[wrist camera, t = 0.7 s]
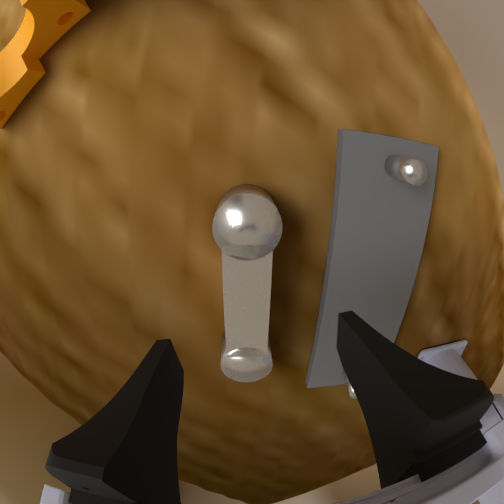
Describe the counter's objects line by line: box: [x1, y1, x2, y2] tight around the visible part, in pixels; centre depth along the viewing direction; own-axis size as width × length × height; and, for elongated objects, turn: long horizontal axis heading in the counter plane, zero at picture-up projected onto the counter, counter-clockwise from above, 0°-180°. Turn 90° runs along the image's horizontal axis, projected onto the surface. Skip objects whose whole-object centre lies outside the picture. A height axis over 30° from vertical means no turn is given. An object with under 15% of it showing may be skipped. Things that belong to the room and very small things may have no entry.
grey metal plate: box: [306, 129, 439, 399], centre depth 20 cm, size 23×8×4 cm, turn 179°
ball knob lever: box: [212, 184, 282, 382], centre depth 20 cm, size 15×4×3 cm, turn 179°
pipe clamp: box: [0, 0, 91, 129], centre depth 10 cm, size 12×4×6 cm, turn 121°
